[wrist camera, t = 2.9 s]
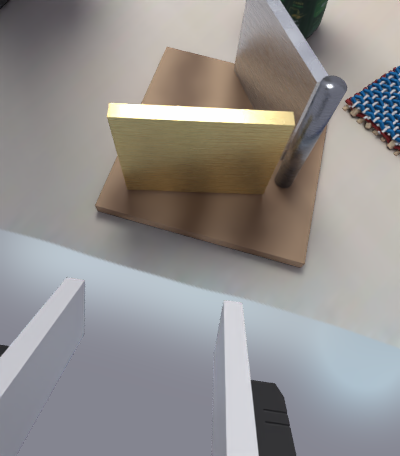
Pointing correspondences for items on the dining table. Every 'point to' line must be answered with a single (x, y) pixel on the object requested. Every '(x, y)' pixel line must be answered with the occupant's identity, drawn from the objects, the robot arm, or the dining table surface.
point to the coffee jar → (305, 14)
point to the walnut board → (219, 202)
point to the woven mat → (380, 107)
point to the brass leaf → (198, 147)
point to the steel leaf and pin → (285, 79)
